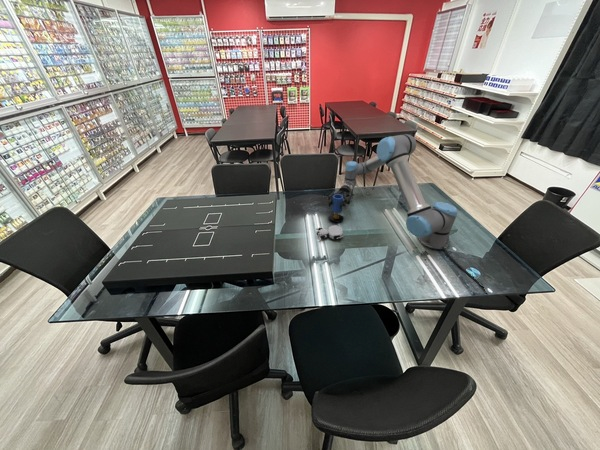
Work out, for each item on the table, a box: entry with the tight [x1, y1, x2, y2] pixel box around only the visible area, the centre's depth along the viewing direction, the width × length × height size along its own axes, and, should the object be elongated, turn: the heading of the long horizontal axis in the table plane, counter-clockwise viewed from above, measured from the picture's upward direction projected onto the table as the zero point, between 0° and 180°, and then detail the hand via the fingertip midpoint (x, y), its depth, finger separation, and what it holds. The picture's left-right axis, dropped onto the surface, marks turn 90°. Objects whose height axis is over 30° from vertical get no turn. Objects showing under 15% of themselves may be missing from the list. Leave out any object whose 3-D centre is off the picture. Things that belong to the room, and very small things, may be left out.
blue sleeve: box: [331, 194, 344, 214], centre depth 152 cm, size 6×6×10 cm
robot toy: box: [315, 223, 344, 241], centre depth 143 cm, size 12×4×15 cm
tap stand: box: [328, 212, 344, 225], centre depth 156 cm, size 9×9×10 cm
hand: (335, 206), depth 147 cm, fingers closed on blue sleeve, 6 cm apart
